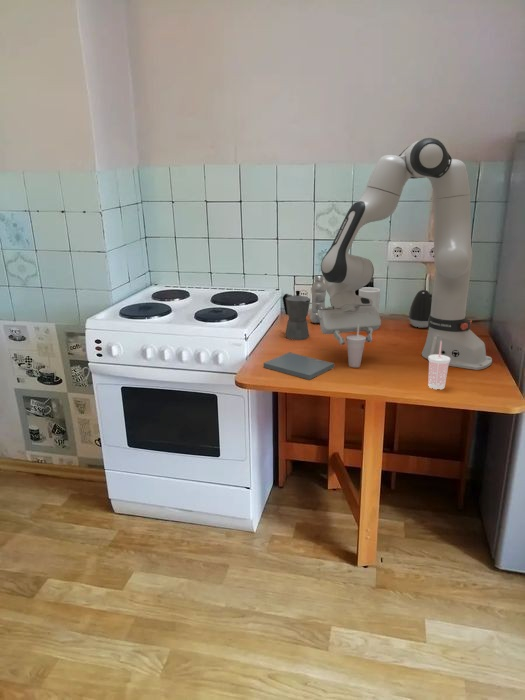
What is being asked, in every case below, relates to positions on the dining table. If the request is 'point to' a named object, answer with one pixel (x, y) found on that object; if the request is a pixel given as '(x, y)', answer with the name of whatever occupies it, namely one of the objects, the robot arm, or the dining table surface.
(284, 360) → the slate board
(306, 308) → the coffeepot
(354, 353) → the smoothie
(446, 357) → the beverage cup
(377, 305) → the cup
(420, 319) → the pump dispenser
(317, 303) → the plastic bottle
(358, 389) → the dining table surface
